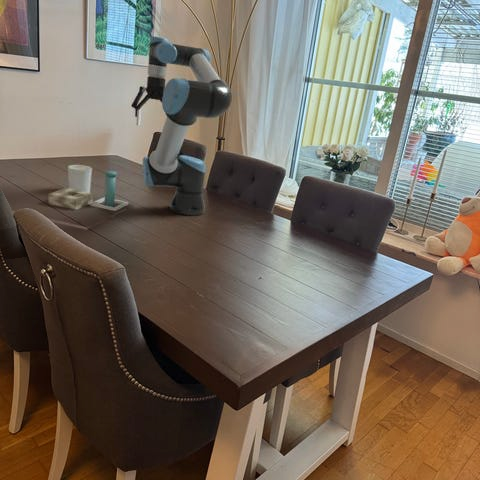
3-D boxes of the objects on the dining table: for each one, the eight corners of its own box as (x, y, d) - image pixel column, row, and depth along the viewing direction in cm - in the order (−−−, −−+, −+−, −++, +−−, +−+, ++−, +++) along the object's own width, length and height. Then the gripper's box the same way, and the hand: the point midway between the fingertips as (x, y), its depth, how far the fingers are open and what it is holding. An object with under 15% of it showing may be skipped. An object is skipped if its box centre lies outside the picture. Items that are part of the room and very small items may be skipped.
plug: (117, 205, 186) (119, 172, 182) (112, 207, 182) (113, 174, 177) (106, 203, 187) (108, 170, 182) (101, 205, 183) (102, 172, 178)
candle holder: (76, 198, 190) (76, 170, 185) (62, 192, 195) (63, 165, 191) (95, 195, 197) (96, 169, 193) (82, 190, 202) (83, 164, 198)
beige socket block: (92, 204, 185) (92, 193, 183) (76, 212, 174) (76, 199, 172) (66, 199, 187) (66, 187, 185) (48, 206, 176) (48, 193, 174)
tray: (127, 206, 189) (128, 202, 188) (115, 213, 179) (115, 208, 178) (104, 201, 191) (104, 197, 190) (90, 207, 181) (90, 203, 180)
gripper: (187, 81, 191) (182, 131, 198) (133, 72, 194) (130, 122, 202) (181, 81, 184) (176, 133, 191) (125, 72, 187) (122, 123, 195)
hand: (152, 127), depth 196 cm, fingers open, 13 cm apart
